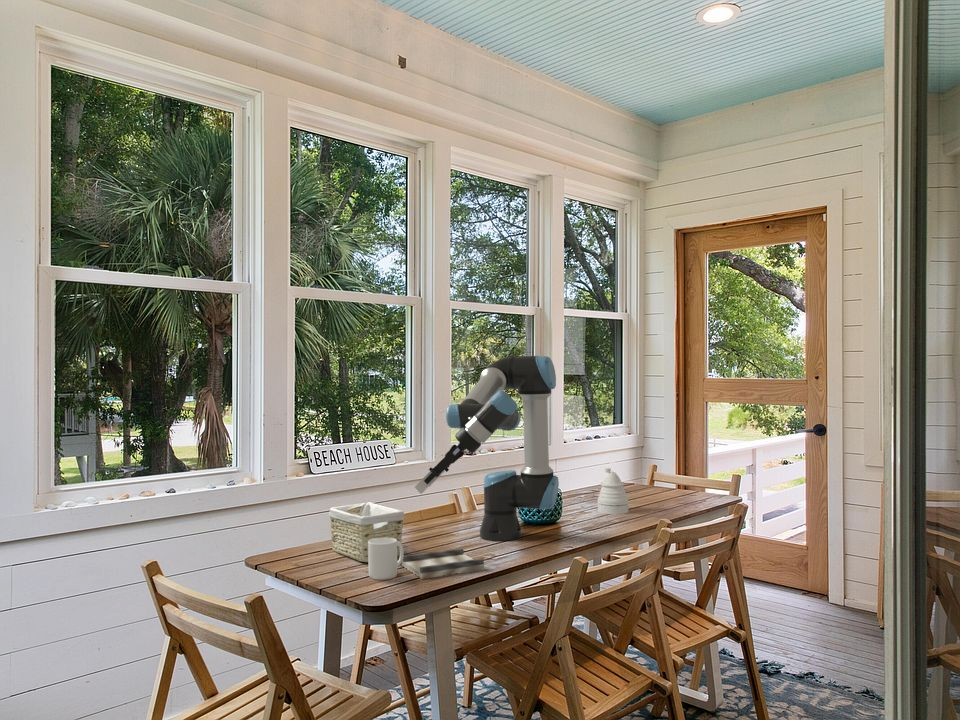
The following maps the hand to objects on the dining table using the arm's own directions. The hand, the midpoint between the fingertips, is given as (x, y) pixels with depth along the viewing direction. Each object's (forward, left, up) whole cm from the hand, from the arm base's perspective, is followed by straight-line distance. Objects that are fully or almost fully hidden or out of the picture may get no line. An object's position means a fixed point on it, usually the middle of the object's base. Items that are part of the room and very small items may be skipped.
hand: (422, 486), depth 202 cm
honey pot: (-107, -51, -26) cm, 121 cm away
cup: (+9, -6, -26) cm, 28 cm away
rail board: (-8, -5, -25) cm, 27 cm away
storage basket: (+7, -33, -26) cm, 42 cm away
